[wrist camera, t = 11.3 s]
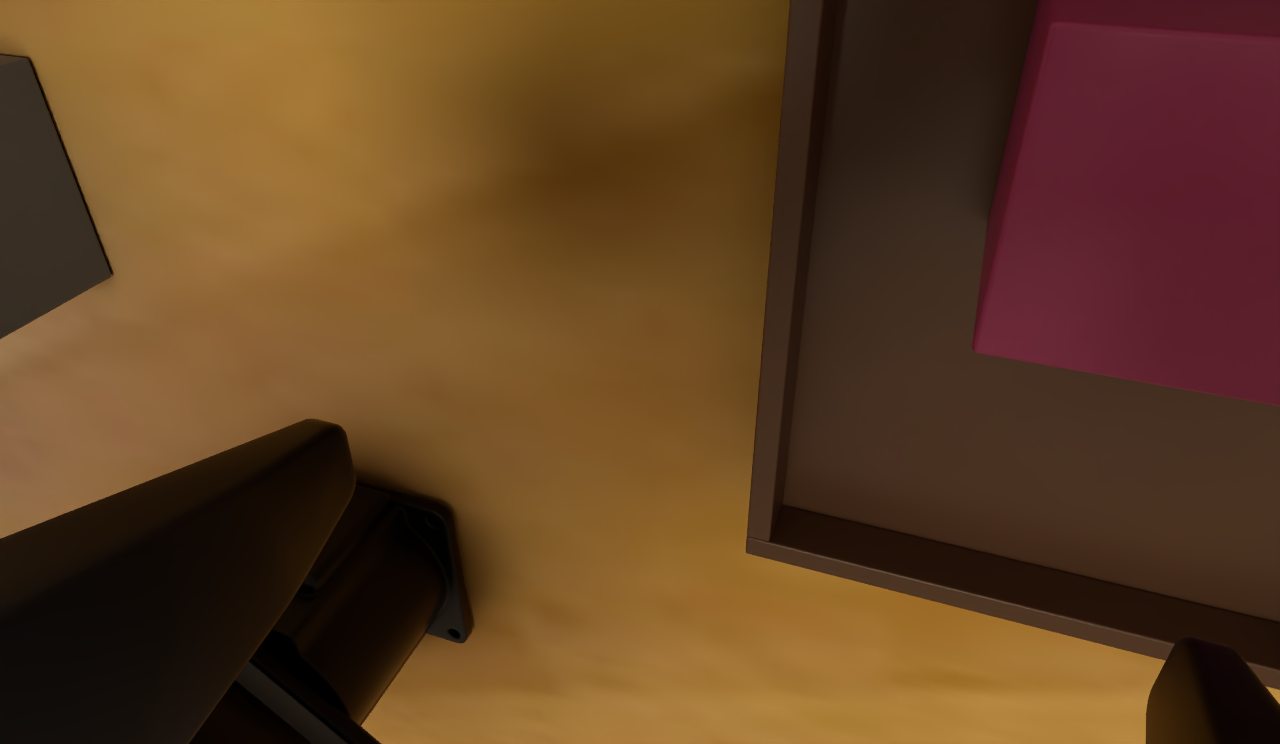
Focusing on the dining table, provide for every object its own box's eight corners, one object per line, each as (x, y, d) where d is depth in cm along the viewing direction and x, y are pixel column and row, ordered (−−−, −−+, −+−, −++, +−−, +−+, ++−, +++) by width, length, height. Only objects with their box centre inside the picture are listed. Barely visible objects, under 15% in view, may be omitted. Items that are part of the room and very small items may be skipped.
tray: (1320, 636, 21) (1342, 706, 19) (763, 503, 25) (744, 553, 23) (2221, -780, 9) (2467, -890, 7) (866, -608, 13) (841, -657, 11)
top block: (1272, 263, 17) (1341, 420, 13) (986, 224, 18) (970, 354, 14) (1401, -30, 14) (1539, 56, 10) (1049, -49, 15) (1050, 20, 11)
